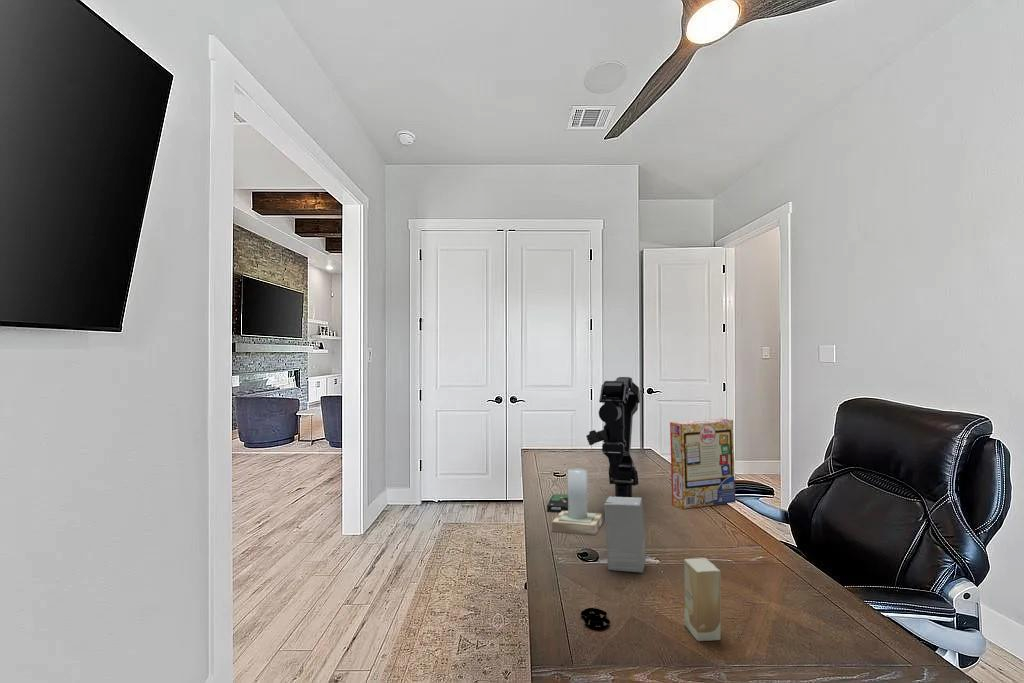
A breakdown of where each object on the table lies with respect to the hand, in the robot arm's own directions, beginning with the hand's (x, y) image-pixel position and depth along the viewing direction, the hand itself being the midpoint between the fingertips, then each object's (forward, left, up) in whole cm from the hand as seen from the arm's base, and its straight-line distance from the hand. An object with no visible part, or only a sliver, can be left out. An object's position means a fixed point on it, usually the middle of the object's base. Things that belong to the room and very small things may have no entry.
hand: (614, 473), depth 176 cm
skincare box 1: (+41, +9, -13) cm, 44 cm away
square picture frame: (+14, -8, -13) cm, 21 cm away
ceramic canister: (+14, -8, -10) cm, 19 cm away
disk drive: (-6, -17, -14) cm, 22 cm away
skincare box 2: (+68, +26, -13) cm, 74 cm away
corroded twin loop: (+69, +7, -13) cm, 71 cm away
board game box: (-21, +26, -13) cm, 35 cm away
